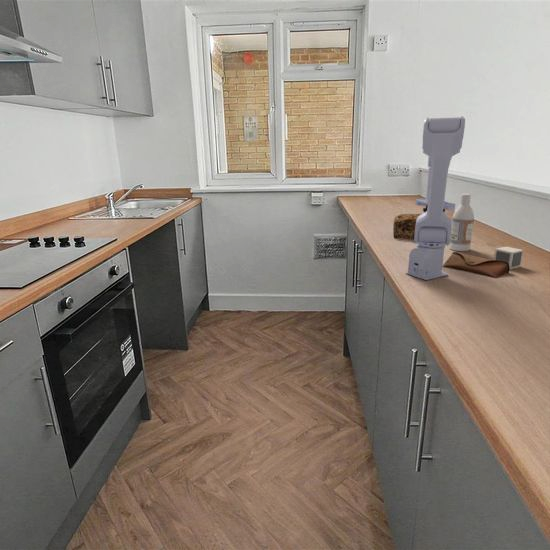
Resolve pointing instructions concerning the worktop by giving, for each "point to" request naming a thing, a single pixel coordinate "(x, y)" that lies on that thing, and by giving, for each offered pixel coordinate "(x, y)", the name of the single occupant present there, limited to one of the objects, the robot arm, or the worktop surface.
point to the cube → (509, 256)
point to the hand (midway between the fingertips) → (432, 229)
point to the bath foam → (462, 225)
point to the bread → (405, 226)
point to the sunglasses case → (477, 265)
